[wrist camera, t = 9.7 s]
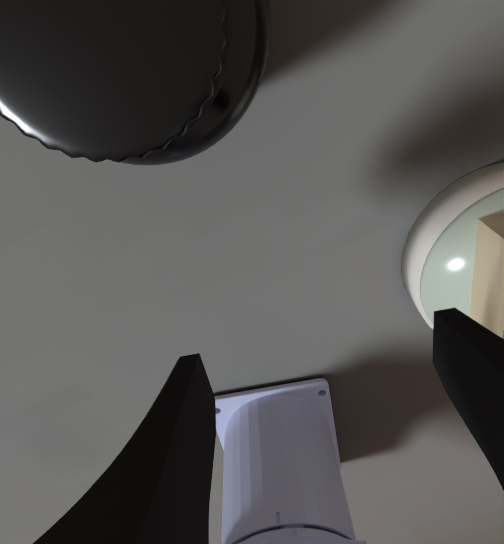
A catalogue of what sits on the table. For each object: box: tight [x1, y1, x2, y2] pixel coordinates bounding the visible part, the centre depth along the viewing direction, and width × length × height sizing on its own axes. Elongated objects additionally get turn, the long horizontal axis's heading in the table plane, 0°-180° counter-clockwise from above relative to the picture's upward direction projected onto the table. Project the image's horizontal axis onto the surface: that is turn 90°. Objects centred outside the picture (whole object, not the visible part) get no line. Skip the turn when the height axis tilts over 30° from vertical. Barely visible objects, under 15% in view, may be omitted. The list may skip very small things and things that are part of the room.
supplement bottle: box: [0, 0, 270, 165], centre depth 12 cm, size 7×7×12 cm
